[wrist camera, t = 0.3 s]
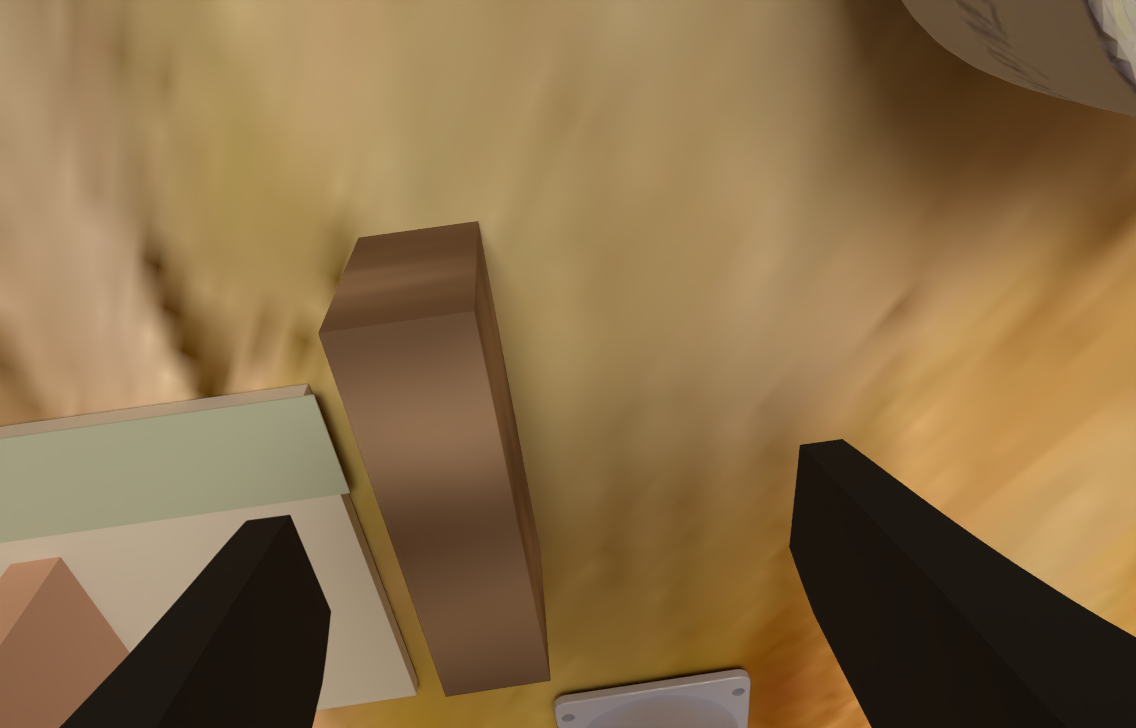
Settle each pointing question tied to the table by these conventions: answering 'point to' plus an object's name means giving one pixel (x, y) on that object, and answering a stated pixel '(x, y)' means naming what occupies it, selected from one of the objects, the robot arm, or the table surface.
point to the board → (199, 516)
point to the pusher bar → (443, 448)
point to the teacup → (1043, 44)
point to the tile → (50, 645)
